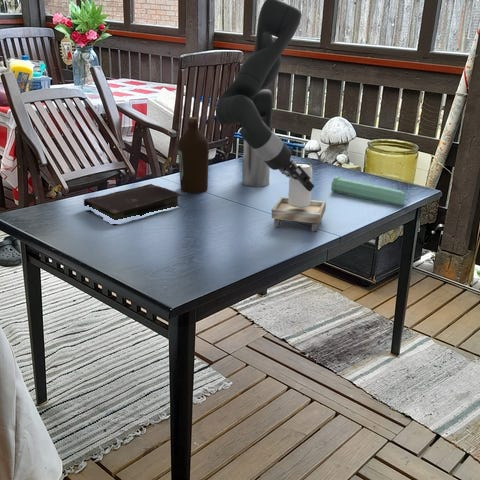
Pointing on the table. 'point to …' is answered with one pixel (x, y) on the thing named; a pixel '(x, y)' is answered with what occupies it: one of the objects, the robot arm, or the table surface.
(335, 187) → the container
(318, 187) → the table surface
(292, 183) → the can
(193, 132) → the olive oil
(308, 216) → the shallow wooden tray
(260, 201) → the table surface
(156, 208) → the diary
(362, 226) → the table surface
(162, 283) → the table surface
